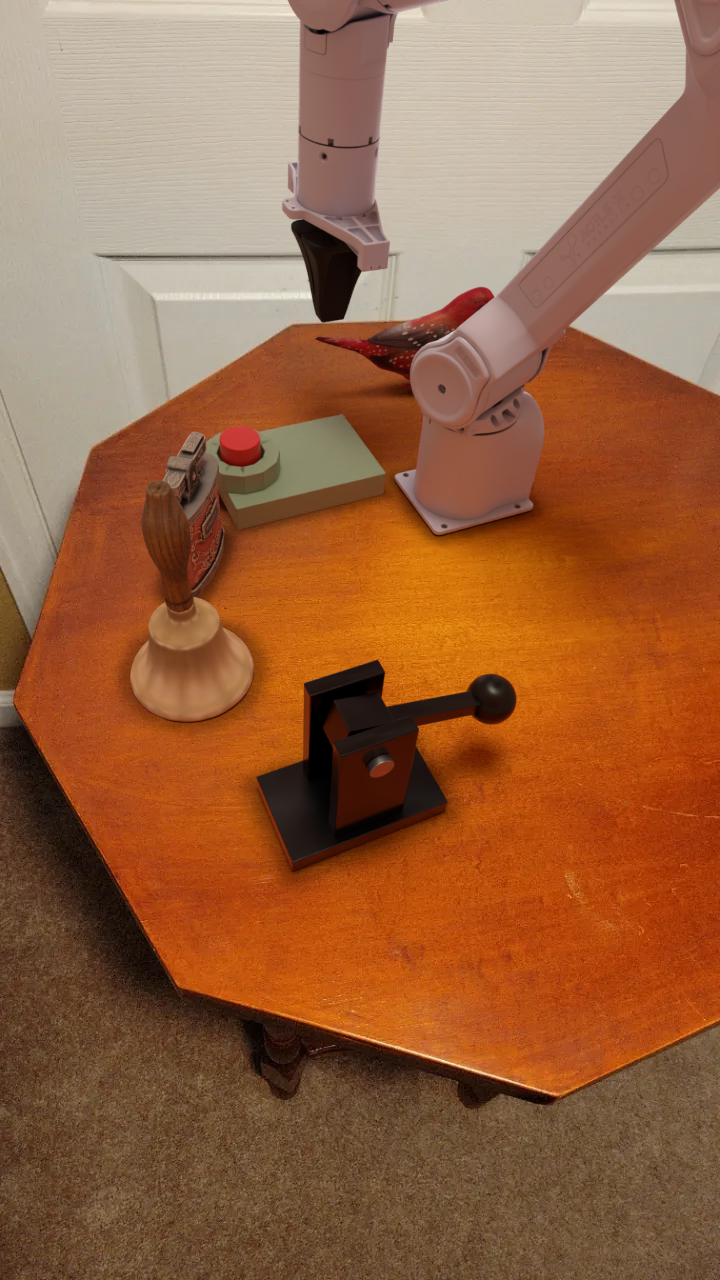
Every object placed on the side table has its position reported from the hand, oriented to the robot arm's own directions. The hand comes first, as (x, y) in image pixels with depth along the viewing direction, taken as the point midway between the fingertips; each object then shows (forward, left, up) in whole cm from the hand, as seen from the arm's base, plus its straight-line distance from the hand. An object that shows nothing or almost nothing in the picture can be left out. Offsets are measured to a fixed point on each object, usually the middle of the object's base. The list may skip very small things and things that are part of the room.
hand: (330, 317), depth 66 cm
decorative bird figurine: (-9, -3, -11) cm, 14 cm away
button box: (+6, +6, -10) cm, 13 cm away
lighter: (+16, +13, -11) cm, 24 cm away
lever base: (+14, +36, -10) cm, 40 cm away
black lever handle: (+10, +36, -5) cm, 38 cm away
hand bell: (+20, +23, -11) cm, 32 cm away
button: (+10, +6, -7) cm, 14 cm away
